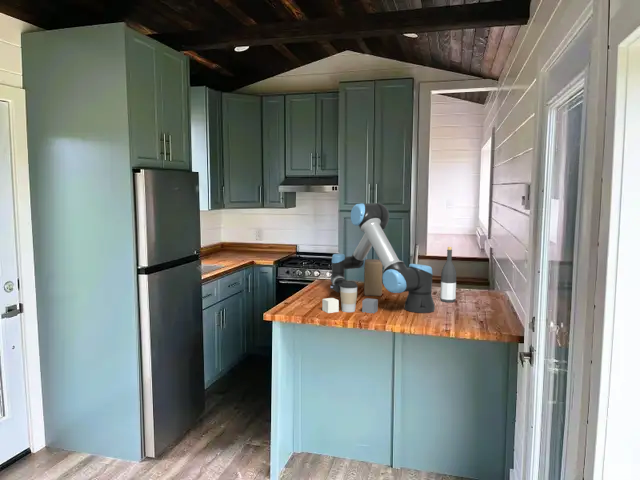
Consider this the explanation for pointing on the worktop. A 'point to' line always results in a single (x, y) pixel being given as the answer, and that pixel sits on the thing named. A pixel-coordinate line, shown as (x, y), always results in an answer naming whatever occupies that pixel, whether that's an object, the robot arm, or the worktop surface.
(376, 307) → the charcoal block
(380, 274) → the block
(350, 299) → the coffee cup
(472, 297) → the worktop surface
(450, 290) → the wine bottle
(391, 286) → the robot arm
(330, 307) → the cream block
